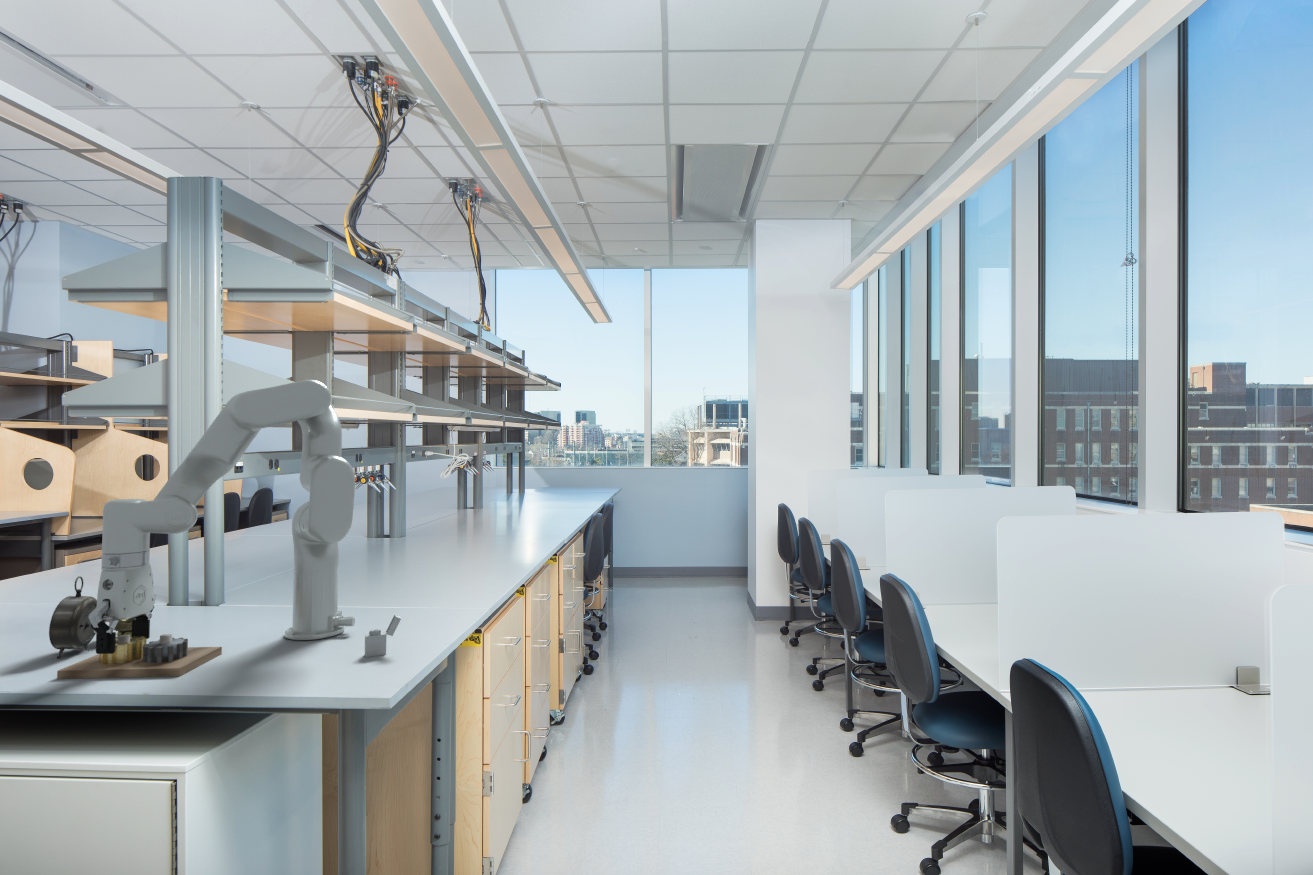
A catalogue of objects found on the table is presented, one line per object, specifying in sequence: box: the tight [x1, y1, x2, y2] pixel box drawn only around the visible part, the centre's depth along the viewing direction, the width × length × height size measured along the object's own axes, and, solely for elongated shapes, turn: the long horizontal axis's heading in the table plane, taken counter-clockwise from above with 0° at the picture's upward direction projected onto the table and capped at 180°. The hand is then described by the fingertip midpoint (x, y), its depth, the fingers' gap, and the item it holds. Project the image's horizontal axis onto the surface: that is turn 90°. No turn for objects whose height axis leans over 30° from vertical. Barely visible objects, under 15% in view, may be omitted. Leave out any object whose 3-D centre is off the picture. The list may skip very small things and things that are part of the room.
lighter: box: [364, 614, 402, 658], centre depth 141 cm, size 7×2×8 cm, turn 118°
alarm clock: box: [48, 575, 97, 659], centre depth 141 cm, size 11×5×16 cm, turn 16°
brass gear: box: [99, 636, 148, 664], centre depth 132 cm, size 7×7×4 cm
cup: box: [108, 618, 136, 637], centre depth 153 cm, size 8×7×8 cm
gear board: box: [56, 633, 223, 680], centre depth 132 cm, size 22×14×6 cm, turn 95°
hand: (123, 645), depth 132 cm, fingers open, 9 cm apart
